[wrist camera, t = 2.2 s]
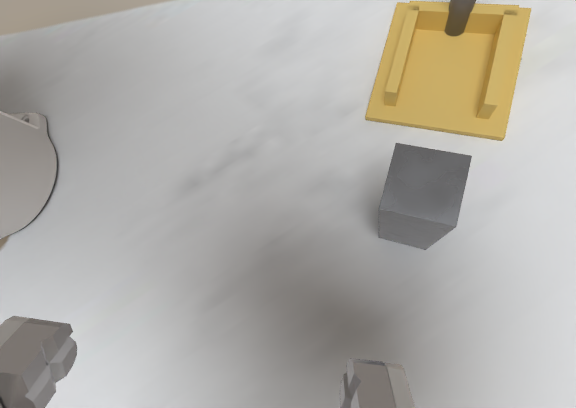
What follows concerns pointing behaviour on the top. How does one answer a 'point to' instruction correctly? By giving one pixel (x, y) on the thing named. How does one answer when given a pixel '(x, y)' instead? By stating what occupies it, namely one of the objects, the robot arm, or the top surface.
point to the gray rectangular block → (422, 195)
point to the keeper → (450, 67)
